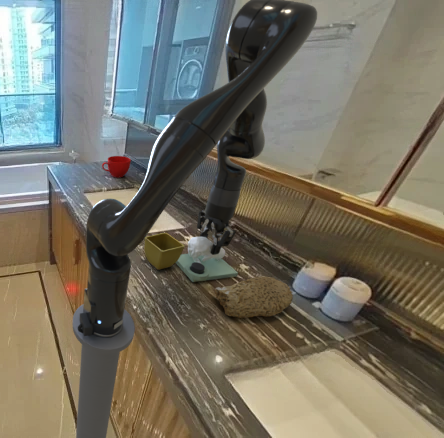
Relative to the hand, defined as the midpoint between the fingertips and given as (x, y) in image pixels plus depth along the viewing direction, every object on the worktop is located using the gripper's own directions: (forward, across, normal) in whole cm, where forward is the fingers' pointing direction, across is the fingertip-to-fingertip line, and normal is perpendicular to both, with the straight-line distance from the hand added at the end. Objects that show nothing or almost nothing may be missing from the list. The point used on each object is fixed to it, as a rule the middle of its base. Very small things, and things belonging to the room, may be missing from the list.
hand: (207, 248), depth 91 cm
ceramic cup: (+6, +84, 0) cm, 84 cm away
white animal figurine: (+5, 0, 0) cm, 5 cm away
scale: (+6, -2, +2) cm, 6 cm away
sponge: (+6, -19, -2) cm, 20 cm away
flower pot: (+6, +2, +14) cm, 16 cm away
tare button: (+3, -6, +7) cm, 10 cm away
